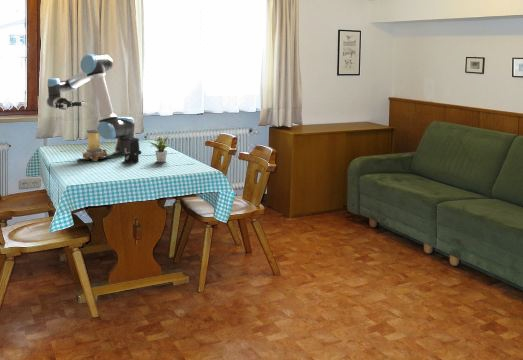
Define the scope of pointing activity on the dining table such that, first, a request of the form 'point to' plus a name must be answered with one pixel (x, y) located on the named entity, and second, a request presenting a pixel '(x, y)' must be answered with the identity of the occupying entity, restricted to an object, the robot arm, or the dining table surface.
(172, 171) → the dining table surface
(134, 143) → the scope
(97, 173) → the dining table surface
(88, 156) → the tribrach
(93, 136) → the yellow thread spool
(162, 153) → the house plant
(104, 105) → the robot arm
